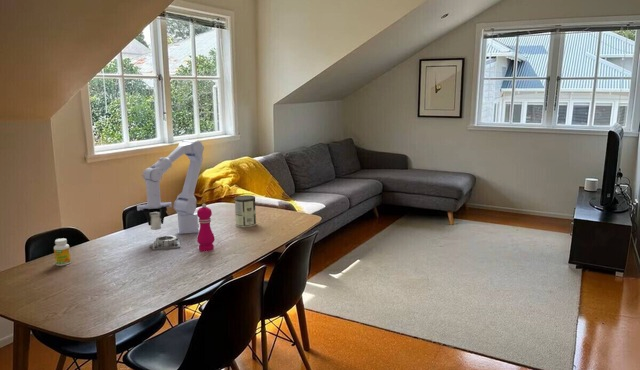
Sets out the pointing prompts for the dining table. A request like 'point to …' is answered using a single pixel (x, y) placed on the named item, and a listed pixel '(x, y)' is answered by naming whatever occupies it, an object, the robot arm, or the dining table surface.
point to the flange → (166, 242)
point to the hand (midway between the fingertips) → (155, 224)
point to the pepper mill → (205, 229)
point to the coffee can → (245, 211)
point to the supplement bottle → (62, 252)
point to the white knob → (155, 220)
